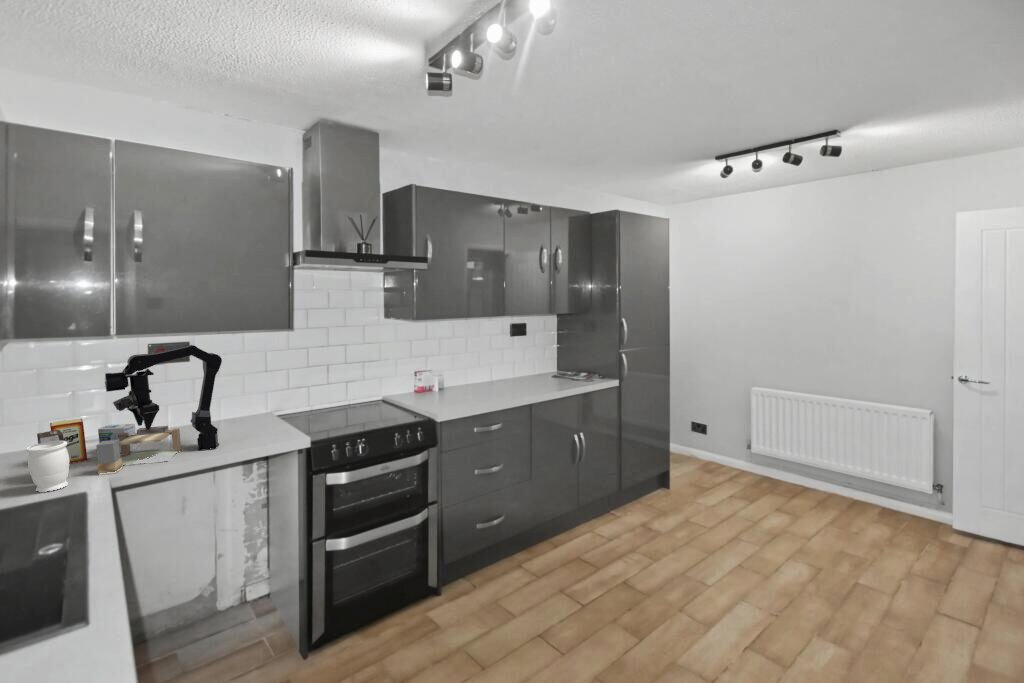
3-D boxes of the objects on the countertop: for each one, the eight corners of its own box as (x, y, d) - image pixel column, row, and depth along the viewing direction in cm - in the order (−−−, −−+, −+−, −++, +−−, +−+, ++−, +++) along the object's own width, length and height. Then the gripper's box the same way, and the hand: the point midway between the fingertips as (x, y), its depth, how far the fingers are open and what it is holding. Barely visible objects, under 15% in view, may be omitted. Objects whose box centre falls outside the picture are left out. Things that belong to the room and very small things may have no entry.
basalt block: (120, 458, 193) (118, 439, 192) (115, 462, 188) (112, 443, 187) (104, 459, 191) (102, 441, 191) (98, 464, 187) (96, 445, 186)
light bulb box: (99, 454, 211) (96, 428, 209) (111, 449, 217) (109, 424, 216) (126, 453, 211) (124, 427, 210) (138, 448, 218) (135, 423, 216)
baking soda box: (86, 456, 209) (81, 417, 207) (87, 460, 204) (82, 420, 202) (54, 462, 202) (49, 422, 200) (55, 466, 197) (50, 425, 196)
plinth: (122, 468, 193) (121, 457, 193) (115, 473, 188) (114, 462, 188) (105, 470, 192) (104, 459, 192) (98, 475, 187) (97, 464, 186)
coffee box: (69, 477, 185) (63, 433, 183) (45, 483, 180) (39, 438, 179) (64, 471, 191) (59, 429, 189) (41, 476, 187) (35, 433, 185)
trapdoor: (174, 431, 214) (173, 425, 214) (160, 442, 200) (159, 434, 200) (134, 435, 211) (134, 428, 210) (118, 445, 197) (117, 438, 197)
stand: (182, 449, 214) (180, 427, 213) (169, 461, 200) (166, 437, 199) (126, 455, 209) (123, 432, 208) (108, 467, 195) (105, 443, 194)
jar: (73, 487, 175) (68, 444, 174) (32, 497, 168) (26, 452, 167) (70, 479, 183) (65, 438, 181) (31, 488, 176) (25, 445, 174)
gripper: (106, 388, 199) (111, 428, 200) (122, 394, 187) (126, 436, 189) (141, 383, 207) (145, 422, 209) (157, 389, 196) (161, 429, 197)
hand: (144, 427), depth 201 cm, fingers open, 9 cm apart
